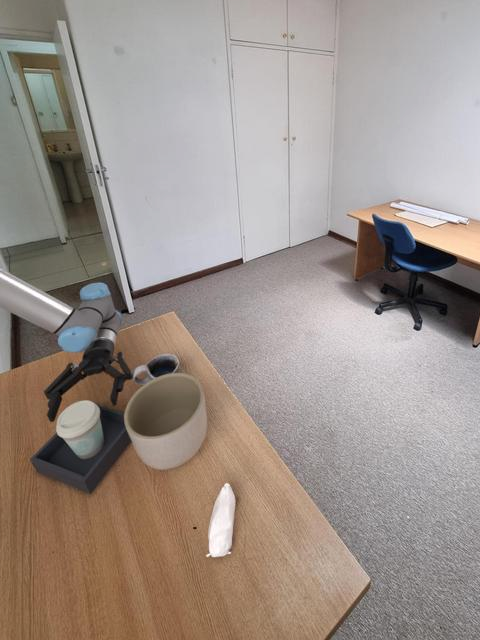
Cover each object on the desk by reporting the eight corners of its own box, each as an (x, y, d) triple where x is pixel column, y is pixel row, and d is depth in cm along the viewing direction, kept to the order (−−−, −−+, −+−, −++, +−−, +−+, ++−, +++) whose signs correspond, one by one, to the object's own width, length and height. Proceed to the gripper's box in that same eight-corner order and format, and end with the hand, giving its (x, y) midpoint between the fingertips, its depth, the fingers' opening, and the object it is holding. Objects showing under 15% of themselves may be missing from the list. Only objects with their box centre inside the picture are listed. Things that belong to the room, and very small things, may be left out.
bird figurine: (211, 509, 70) (204, 563, 60) (214, 482, 68) (208, 533, 59) (234, 509, 70) (231, 562, 61) (238, 482, 69) (235, 533, 60)
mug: (188, 381, 98) (183, 356, 94) (148, 410, 89) (141, 384, 85) (171, 365, 103) (166, 341, 99) (132, 391, 95) (124, 365, 90)
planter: (225, 435, 83) (218, 393, 76) (167, 498, 70) (154, 455, 64) (182, 401, 92) (173, 362, 85) (124, 452, 79) (108, 411, 72)
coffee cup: (61, 460, 77) (43, 427, 71) (90, 426, 84) (76, 394, 79) (91, 469, 75) (76, 436, 70) (118, 434, 82) (106, 402, 77)
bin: (36, 472, 75) (29, 459, 73) (93, 412, 88) (88, 400, 86) (90, 494, 71) (84, 481, 69) (140, 428, 84) (136, 416, 82)
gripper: (147, 348, 102) (141, 405, 84) (56, 368, 95) (27, 435, 77) (142, 329, 99) (135, 385, 81) (47, 348, 92) (15, 414, 74)
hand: (82, 410), depth 79 cm, fingers open, 13 cm apart
